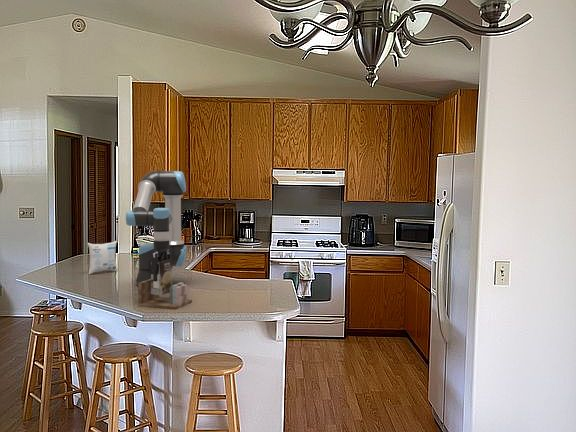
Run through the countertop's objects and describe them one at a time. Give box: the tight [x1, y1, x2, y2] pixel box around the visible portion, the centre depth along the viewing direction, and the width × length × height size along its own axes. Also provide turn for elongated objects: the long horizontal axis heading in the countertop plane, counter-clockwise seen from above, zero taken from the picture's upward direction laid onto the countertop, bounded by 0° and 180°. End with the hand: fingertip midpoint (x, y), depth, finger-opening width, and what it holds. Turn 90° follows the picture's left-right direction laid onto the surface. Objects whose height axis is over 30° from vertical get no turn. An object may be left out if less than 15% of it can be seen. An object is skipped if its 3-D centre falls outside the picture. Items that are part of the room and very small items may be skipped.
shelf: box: [137, 279, 193, 310], centre depth 267 cm, size 16×20×11 cm
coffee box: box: [151, 259, 173, 296], centre depth 267 cm, size 9×6×16 cm
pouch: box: [86, 240, 118, 275], centre depth 347 cm, size 8×19×20 cm, turn 128°
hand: (161, 285), depth 267 cm, fingers closed on coffee box, 9 cm apart
